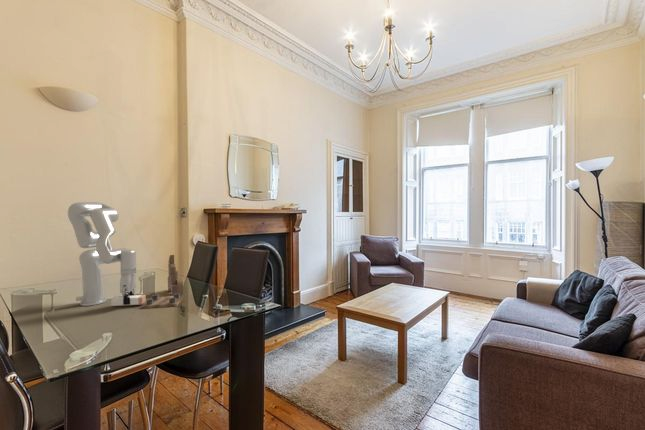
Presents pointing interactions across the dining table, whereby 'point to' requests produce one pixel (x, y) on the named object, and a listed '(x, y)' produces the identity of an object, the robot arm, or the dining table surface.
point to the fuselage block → (133, 300)
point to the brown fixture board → (163, 301)
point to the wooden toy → (174, 278)
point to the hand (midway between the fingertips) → (128, 302)
